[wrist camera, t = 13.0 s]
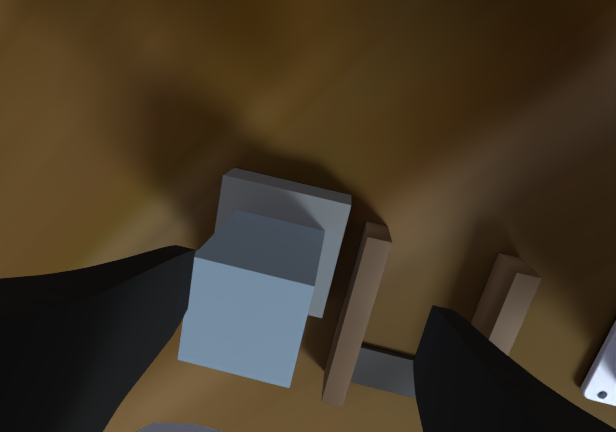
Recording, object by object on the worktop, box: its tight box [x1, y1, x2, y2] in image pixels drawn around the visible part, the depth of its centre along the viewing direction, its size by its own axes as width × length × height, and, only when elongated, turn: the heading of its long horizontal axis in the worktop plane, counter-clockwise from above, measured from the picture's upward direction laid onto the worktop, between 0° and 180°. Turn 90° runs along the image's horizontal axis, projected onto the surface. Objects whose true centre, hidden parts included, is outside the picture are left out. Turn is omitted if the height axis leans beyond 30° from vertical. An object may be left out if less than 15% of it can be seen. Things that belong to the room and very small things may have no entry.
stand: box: [214, 168, 351, 318], centre depth 22 cm, size 6×6×2 cm
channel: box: [321, 221, 542, 407], centre depth 22 cm, size 8×10×2 cm
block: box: [178, 210, 325, 388], centre depth 18 cm, size 4×4×6 cm
